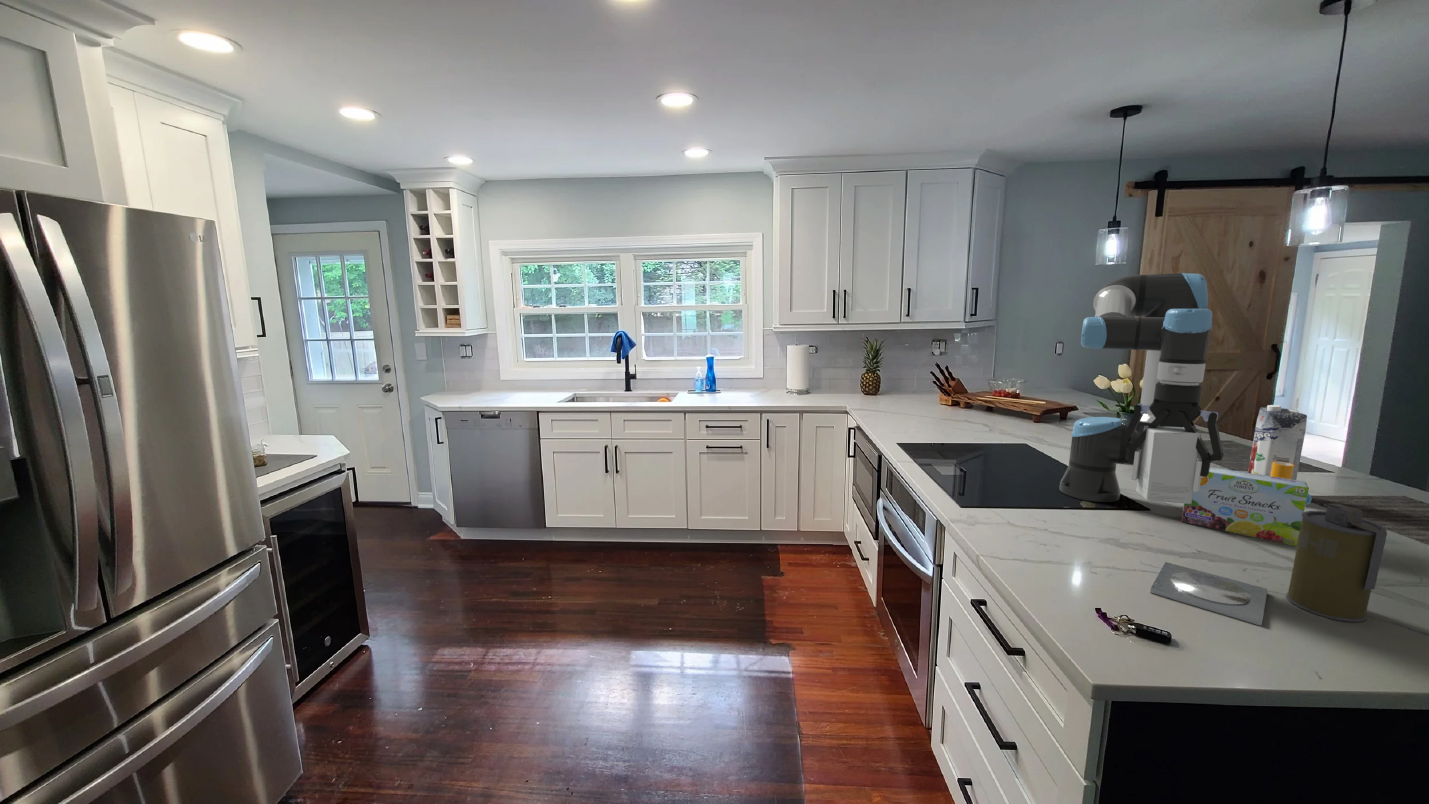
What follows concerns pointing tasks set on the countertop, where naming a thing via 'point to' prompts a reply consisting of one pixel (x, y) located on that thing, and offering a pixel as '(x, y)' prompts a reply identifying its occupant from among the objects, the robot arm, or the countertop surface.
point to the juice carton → (1277, 439)
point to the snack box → (1249, 505)
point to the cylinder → (1284, 473)
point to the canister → (1336, 563)
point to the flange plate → (1211, 592)
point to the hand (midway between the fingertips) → (1164, 484)
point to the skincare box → (1168, 465)
